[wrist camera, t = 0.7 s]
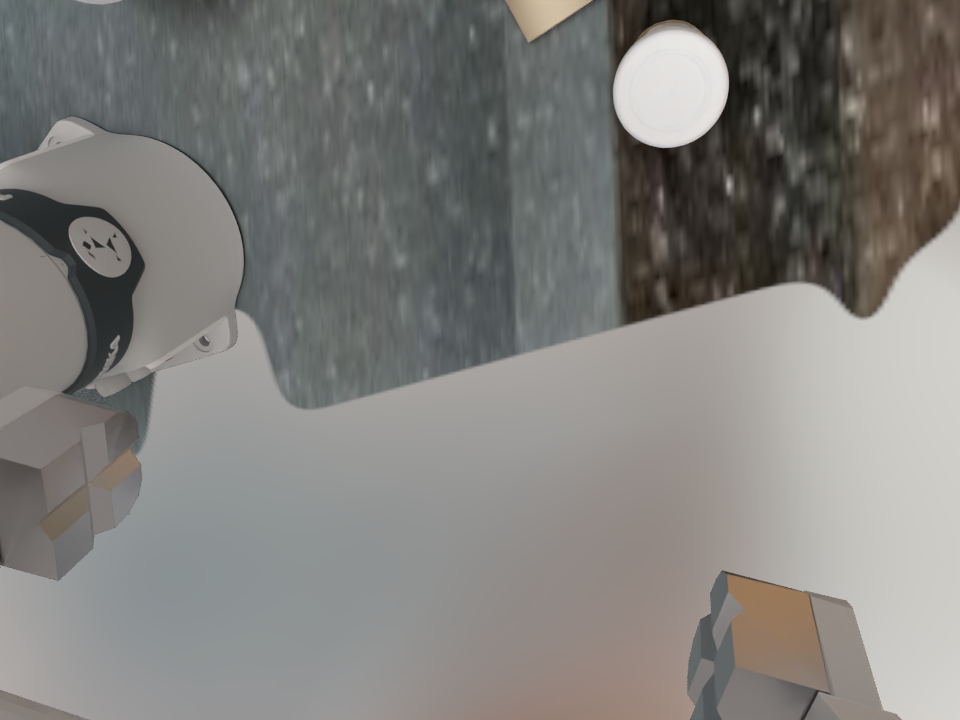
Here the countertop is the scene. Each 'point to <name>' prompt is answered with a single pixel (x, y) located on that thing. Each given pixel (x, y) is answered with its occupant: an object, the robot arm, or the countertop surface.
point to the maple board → (543, 14)
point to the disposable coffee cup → (99, 1)
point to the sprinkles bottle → (670, 85)
